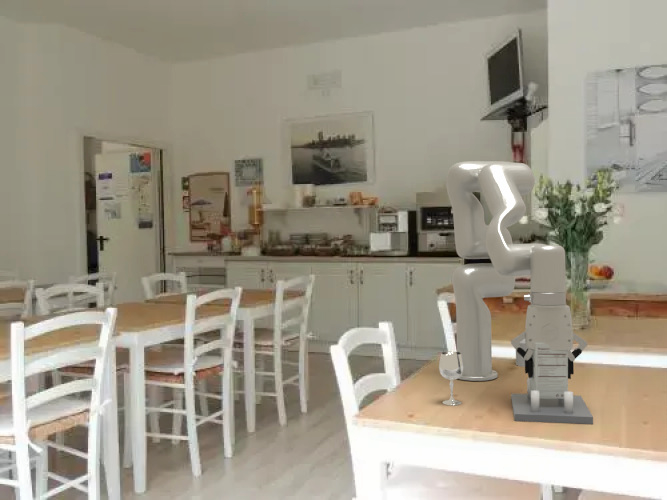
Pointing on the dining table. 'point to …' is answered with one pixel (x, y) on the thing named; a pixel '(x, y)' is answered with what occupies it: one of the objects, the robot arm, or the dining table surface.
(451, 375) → the wineglass
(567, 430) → the dining table surface
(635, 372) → the dining table surface
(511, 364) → the dining table surface
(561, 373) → the supplement box
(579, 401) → the pin tray
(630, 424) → the dining table surface
